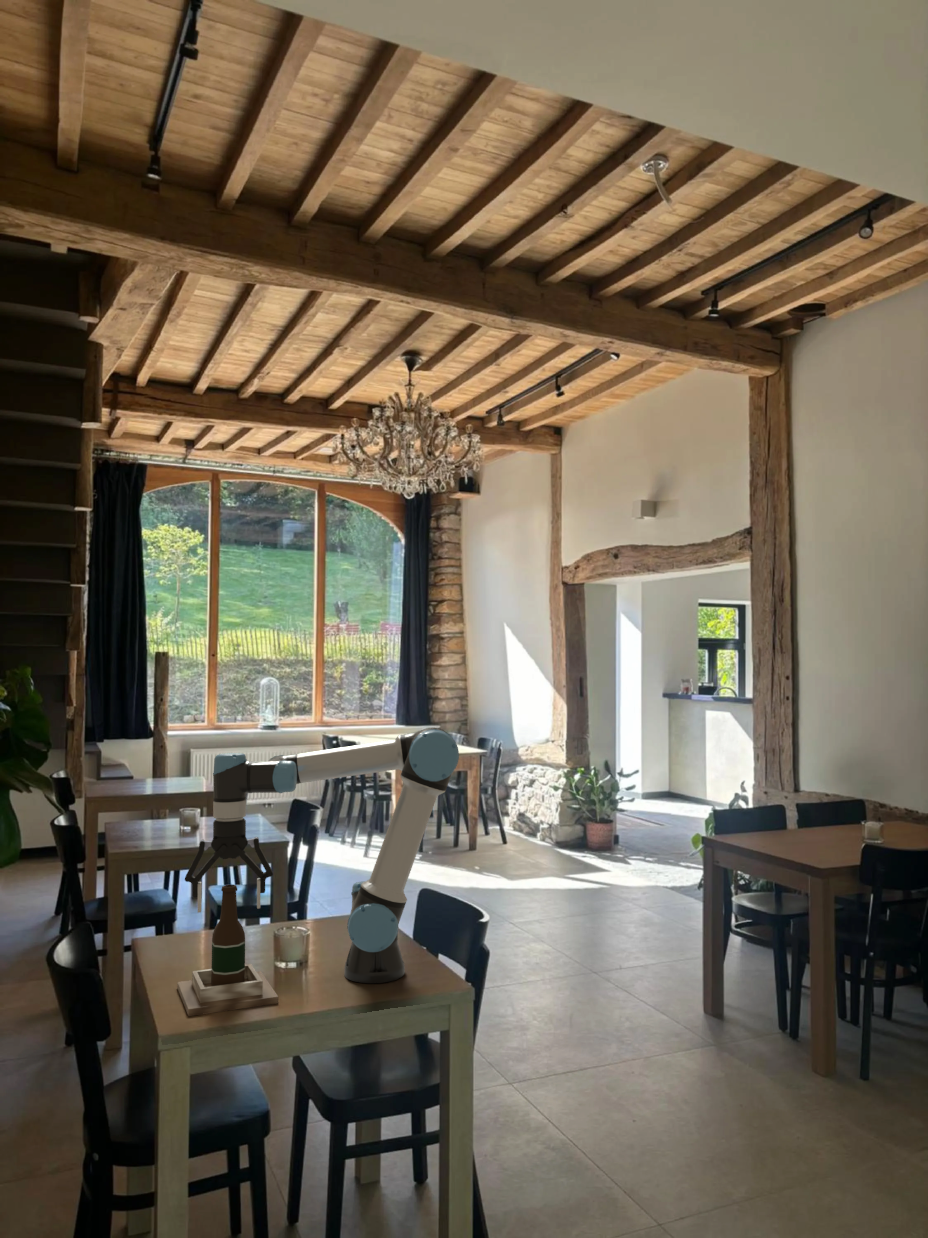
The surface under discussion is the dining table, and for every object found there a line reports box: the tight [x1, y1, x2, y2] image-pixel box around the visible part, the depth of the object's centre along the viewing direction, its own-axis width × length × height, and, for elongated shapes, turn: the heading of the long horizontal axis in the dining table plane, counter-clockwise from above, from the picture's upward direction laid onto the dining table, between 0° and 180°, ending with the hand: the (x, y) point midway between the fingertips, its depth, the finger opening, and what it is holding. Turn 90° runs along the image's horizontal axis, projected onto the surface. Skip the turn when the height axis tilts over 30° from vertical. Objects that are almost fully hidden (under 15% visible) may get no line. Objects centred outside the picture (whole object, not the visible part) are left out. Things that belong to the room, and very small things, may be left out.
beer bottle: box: [210, 883, 246, 986], centre depth 217 cm, size 8×8×24 cm
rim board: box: [177, 963, 279, 1017], centre depth 217 cm, size 20×20×4 cm
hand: (229, 909), depth 218 cm, fingers open, 13 cm apart
